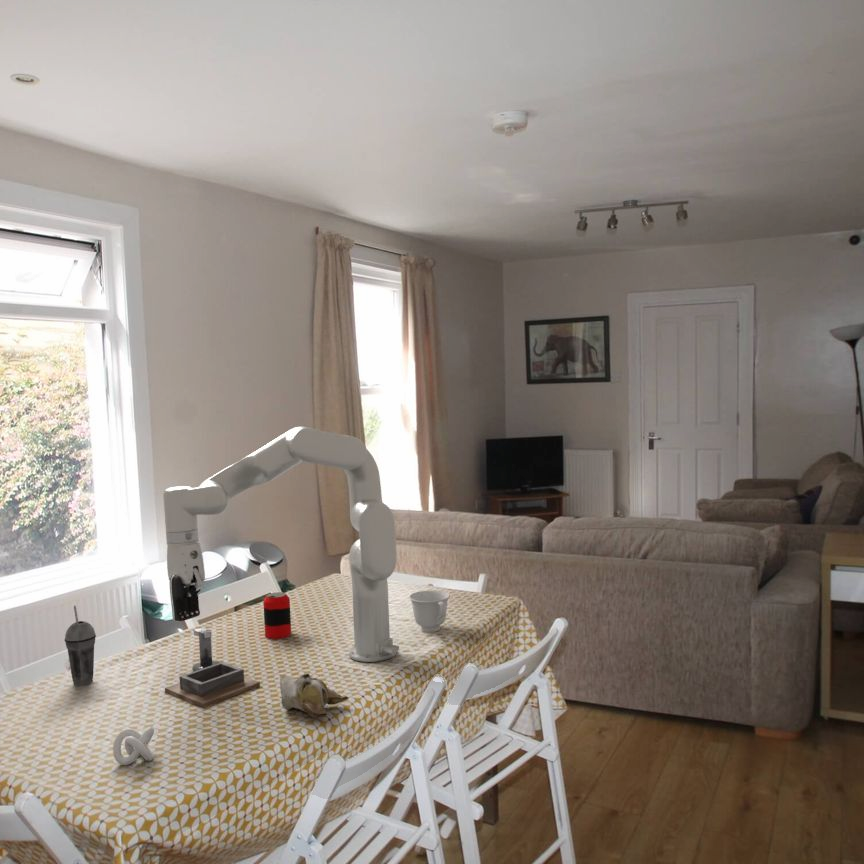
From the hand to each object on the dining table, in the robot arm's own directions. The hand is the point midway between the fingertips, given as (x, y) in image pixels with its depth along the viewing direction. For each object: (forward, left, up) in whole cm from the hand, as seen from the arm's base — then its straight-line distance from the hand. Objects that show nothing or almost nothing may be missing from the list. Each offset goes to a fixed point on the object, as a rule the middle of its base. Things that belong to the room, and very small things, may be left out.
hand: (187, 609), depth 196 cm
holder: (-8, -1, -19) cm, 20 cm away
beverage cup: (+23, +16, -19) cm, 34 cm away
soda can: (+12, -37, -19) cm, 43 cm away
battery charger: (0, 0, -2) cm, 2 cm away
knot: (-27, +29, -19) cm, 44 cm away
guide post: (+5, -8, -19) cm, 21 cm away
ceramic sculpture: (-37, -6, -19) cm, 42 cm away
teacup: (-23, -66, -19) cm, 72 cm away
